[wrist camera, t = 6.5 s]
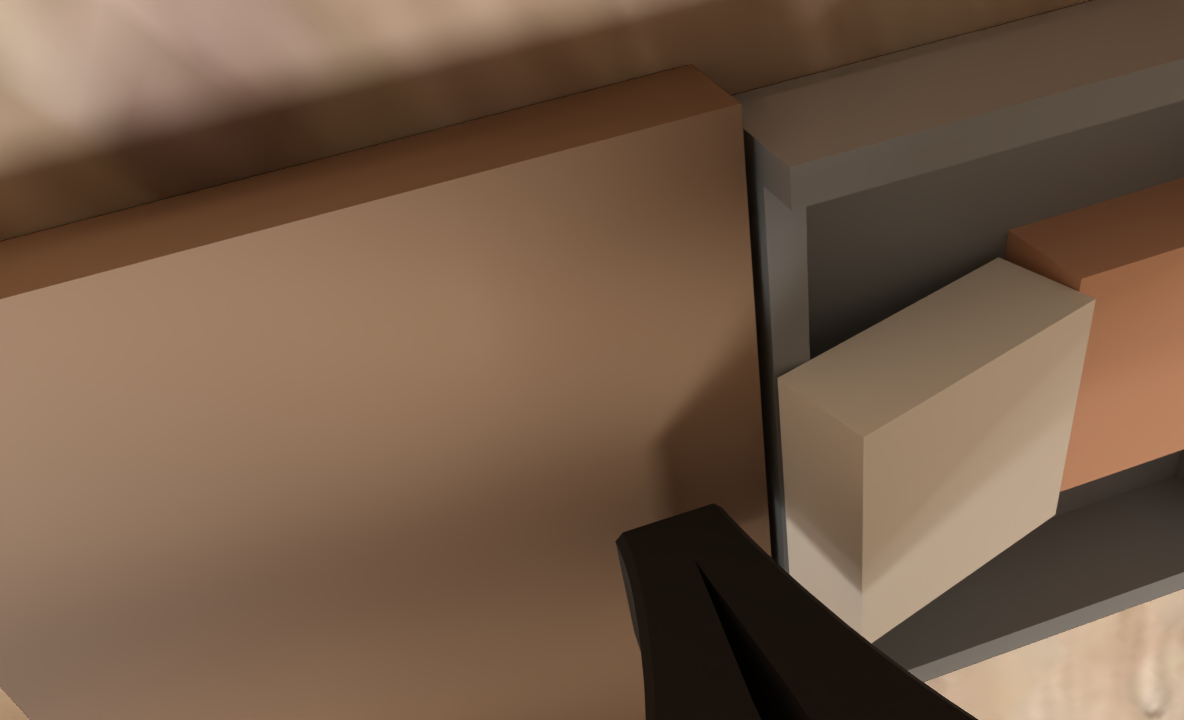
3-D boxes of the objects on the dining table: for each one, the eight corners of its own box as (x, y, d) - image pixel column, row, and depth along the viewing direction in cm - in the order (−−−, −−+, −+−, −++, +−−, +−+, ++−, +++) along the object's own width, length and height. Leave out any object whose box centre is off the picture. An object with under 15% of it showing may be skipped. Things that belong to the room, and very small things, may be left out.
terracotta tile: (1191, 370, 16) (1266, 420, 15) (984, 439, 15) (1044, 497, 14) (1250, 157, 13) (1344, 196, 12) (1008, 230, 13) (1081, 278, 12)
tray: (1178, 476, 18) (1275, 555, 16) (755, 621, 17) (809, 722, 15) (1339, -65, 12) (1519, -35, 10) (710, 100, 11) (790, 166, 9)
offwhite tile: (975, 463, 15) (1055, 514, 14) (790, 583, 14) (861, 649, 13) (998, 257, 13) (1095, 298, 12) (776, 378, 12) (863, 437, 10)
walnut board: (747, 641, 17) (781, 709, 16) (213, 825, 16) (206, 913, 15) (691, 64, 11) (741, 103, 10) (-211, 295, 9) (-285, 374, 8)
